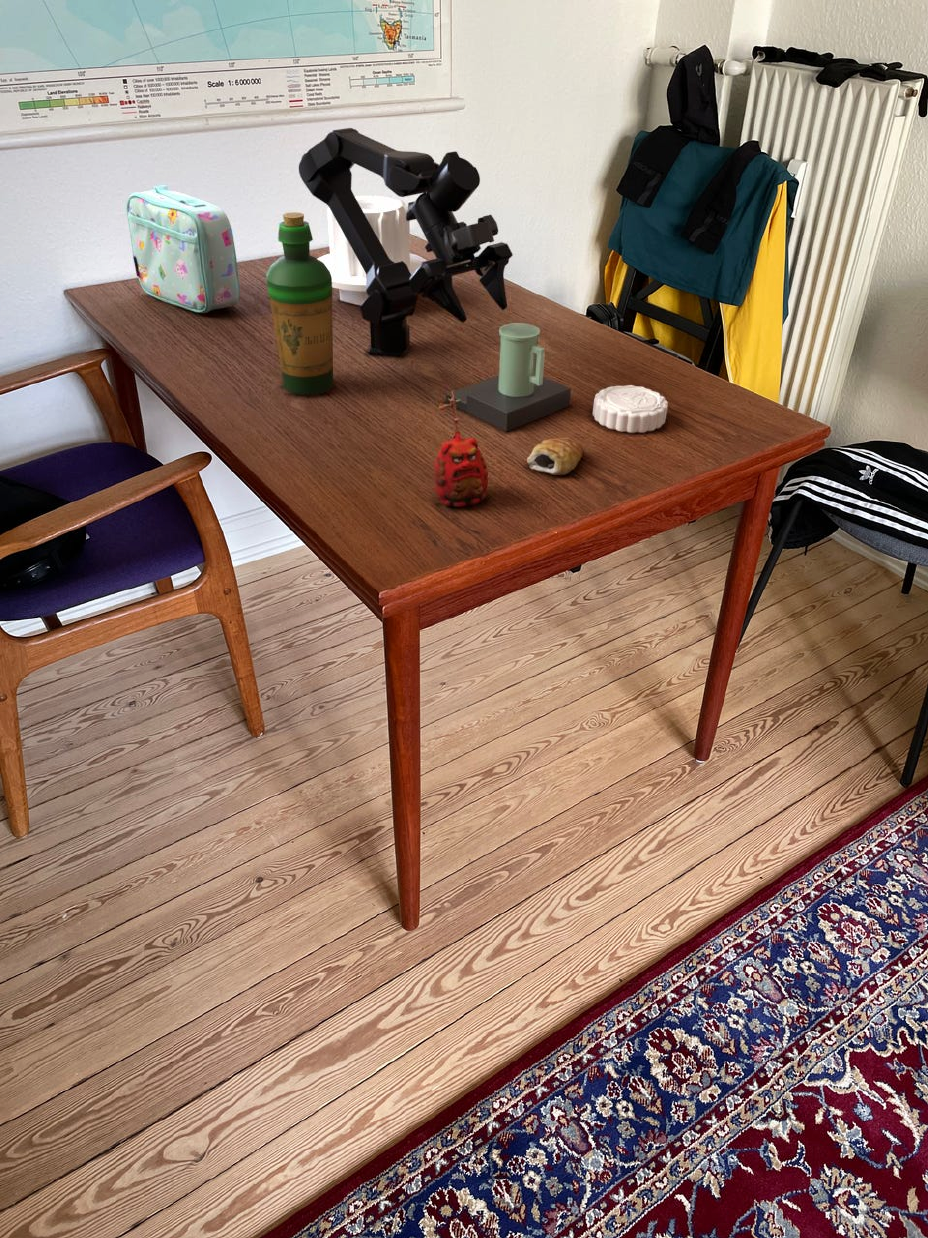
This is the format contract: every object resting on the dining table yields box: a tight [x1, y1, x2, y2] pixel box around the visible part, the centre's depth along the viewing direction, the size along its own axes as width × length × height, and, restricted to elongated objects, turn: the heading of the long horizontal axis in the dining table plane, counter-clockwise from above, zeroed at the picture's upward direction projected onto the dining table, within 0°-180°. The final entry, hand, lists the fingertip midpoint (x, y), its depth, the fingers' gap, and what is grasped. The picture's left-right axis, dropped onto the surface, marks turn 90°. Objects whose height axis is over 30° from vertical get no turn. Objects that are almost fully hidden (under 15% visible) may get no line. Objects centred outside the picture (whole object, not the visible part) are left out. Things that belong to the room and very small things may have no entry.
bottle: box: [265, 211, 334, 396], centre depth 148 cm, size 11×11×28 cm
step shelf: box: [445, 373, 572, 432], centre depth 152 cm, size 14×15×3 cm
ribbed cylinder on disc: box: [317, 194, 428, 307], centre depth 188 cm, size 25×25×19 cm
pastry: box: [526, 437, 584, 476], centre depth 135 cm, size 9×7×4 cm
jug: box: [498, 322, 546, 397], centre depth 146 cm, size 9×6×10 cm
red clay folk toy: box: [434, 390, 489, 508], centre depth 123 cm, size 8×7×15 cm
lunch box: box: [126, 184, 241, 314], centre depth 183 cm, size 27×10×21 cm, turn 49°
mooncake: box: [592, 384, 669, 434], centre depth 148 cm, size 12×12×4 cm
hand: (485, 314), depth 148 cm, fingers open, 9 cm apart
